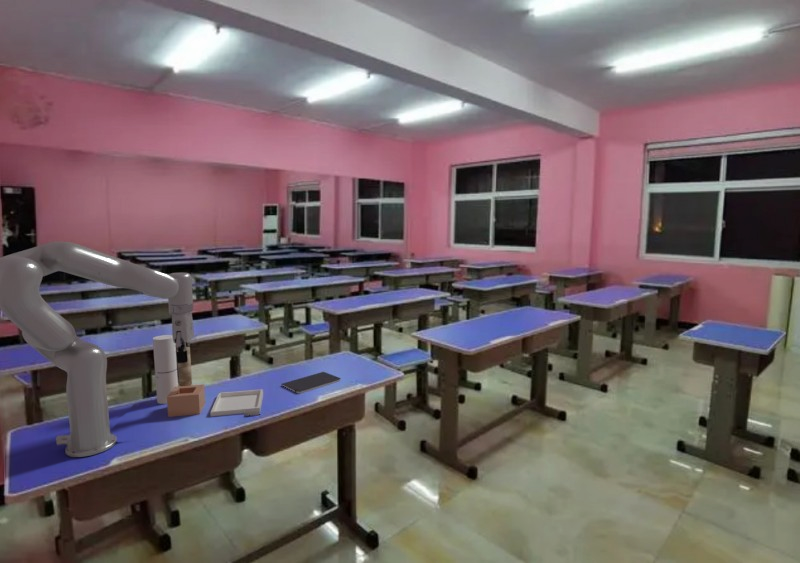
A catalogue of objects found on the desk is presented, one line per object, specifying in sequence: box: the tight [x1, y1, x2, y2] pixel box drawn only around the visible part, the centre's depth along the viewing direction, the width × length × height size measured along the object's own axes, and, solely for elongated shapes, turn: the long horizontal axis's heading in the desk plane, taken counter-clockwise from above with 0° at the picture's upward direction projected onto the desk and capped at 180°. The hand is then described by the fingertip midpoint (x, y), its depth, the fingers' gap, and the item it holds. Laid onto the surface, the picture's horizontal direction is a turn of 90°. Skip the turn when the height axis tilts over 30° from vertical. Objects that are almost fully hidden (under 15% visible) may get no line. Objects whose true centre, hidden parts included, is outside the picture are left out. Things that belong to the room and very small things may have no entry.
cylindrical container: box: [152, 334, 179, 405], centre depth 162 cm, size 7×7×25 cm
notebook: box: [281, 371, 341, 394], centre depth 184 cm, size 13×2×21 cm
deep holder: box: [166, 384, 206, 418], centre depth 154 cm, size 10×10×8 cm
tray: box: [210, 388, 264, 417], centre depth 160 cm, size 16×18×2 cm
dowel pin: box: [177, 346, 193, 386], centre depth 153 cm, size 4×4×13 cm
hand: (184, 359), depth 152 cm, fingers closed on dowel pin, 4 cm apart
